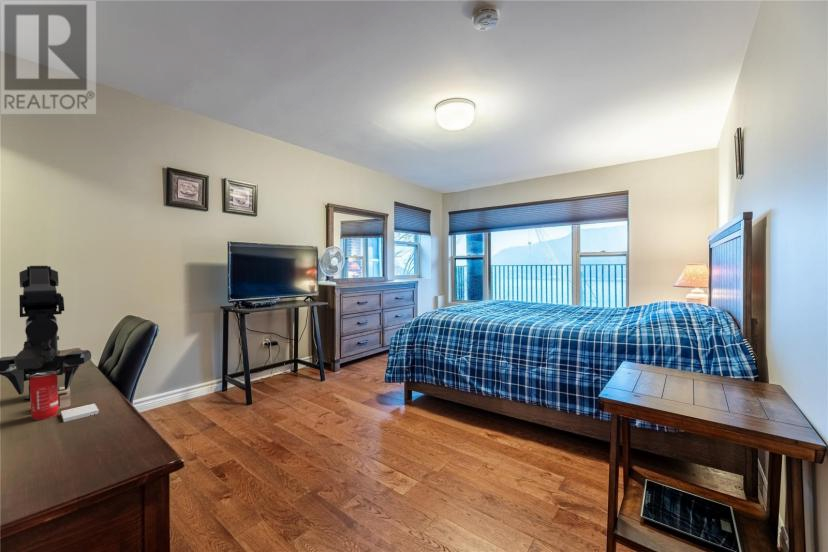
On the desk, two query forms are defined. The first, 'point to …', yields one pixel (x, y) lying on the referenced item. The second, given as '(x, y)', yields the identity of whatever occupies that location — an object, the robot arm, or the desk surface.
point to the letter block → (64, 397)
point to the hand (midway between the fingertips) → (44, 391)
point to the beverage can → (44, 395)
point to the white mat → (79, 412)
